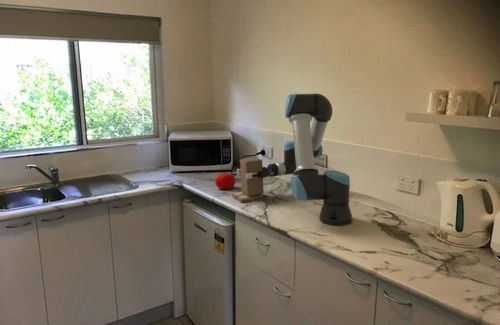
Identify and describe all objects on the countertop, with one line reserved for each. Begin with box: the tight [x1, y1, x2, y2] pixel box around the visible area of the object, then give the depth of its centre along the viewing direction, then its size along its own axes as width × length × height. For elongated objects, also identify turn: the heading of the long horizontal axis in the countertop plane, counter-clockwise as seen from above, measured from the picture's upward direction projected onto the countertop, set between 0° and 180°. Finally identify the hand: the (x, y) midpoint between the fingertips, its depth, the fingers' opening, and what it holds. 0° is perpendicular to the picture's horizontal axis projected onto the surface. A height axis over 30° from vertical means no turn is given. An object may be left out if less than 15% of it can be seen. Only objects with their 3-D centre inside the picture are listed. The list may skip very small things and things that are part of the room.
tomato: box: [214, 172, 236, 190], centre depth 239 cm, size 11×13×10 cm
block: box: [239, 156, 264, 196], centre depth 218 cm, size 10×10×20 cm
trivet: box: [231, 191, 266, 204], centre depth 220 cm, size 14×14×2 cm
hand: (241, 173), depth 215 cm, fingers open, 12 cm apart
